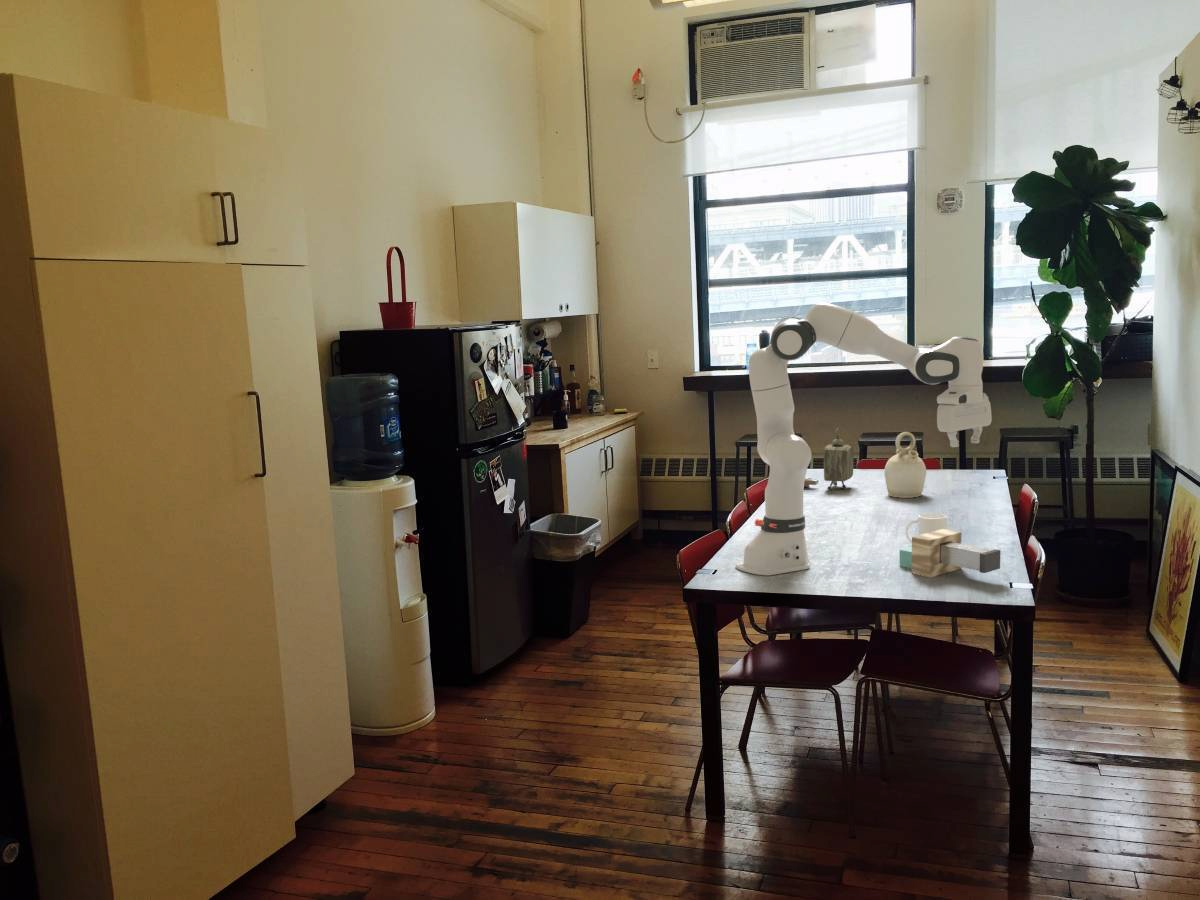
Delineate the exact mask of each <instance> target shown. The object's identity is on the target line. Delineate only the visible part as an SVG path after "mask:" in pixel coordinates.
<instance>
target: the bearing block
mask: <svg viewBox="0 0 1200 900" xmlns="http://www.w3.org/2000/svg"><path fill="white" fill-rule="evenodd" d="M911 540H912V543H911V546H912V569H911V574H912V573H913V575H916V574H917V575H916V576H920V575H921V576H920V577H924V576H925V577H924V578H928V579H930V578H931V579H932V578H935V577H938V576H940V575H944V574H947V572H948V573H950V572H954V571H957V570H961V569H962V567H959V566H954V565H950V564H945V563H940V544H941V543H945V542H949V541H950V542H955V543H960V544H962V531H958V530H957V531H956V530H951V529H948V528H947V529H941V530H937V531H933V532H929V533H925V534H921V535H918V534H917V535H914V536H911ZM937 575H938V576H937Z"/></svg>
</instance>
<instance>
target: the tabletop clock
mask: <svg viewBox="0 0 1200 900" xmlns="http://www.w3.org/2000/svg"><path fill="white" fill-rule="evenodd" d="M840 437H841V428H840V427H837V428H836V429H835V439H833V440H832V441H831V444H827V445H826V446H825V447H824V450H823V479H824V481H825V482H830V485H829V486H827V487H826V488H827V490H828V491H831V490H832V486H834V485H836V486H837V485H838V482H841V484H842V485H841V488H842V489H843V488H845V489H846V488H847V486H846V485H845V483H844V482H846V481H848V480H850V479H851V478H852V477H853V475H854V447H852V446H850V445H849V444H845V441H844V440H843V439H841V438H840Z"/></svg>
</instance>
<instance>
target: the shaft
mask: <svg viewBox="0 0 1200 900" xmlns="http://www.w3.org/2000/svg"><path fill="white" fill-rule="evenodd" d="M940 563H945V564H950V565H954V566H959V567H961V568H965V569H969V570H973V571H978V572H979V573H980V574H981V573H982V574H986V573H990V572H993V571H996V570H999V569H1001V549H994V548H993V549H991V548H985V547H980V546H974V545H971V544H970V545H969V544H966V543H961V544H960V543H955V542H950V541H949V542H945V543H941V544H940Z"/></svg>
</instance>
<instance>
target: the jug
mask: <svg viewBox="0 0 1200 900" xmlns="http://www.w3.org/2000/svg"><path fill="white" fill-rule="evenodd" d="M904 437H909V438H910V444H909V446H907V447H902V446H901V441H902V439H903V438H904ZM894 444H895V447H896V451H895V454H894V455H893V456H891V457H890V458H889V459H888V460H887V462H886V464H885V466H884V472H883V473H884V479H885V484H886V489H887V493H888V496H889V497H891V496H892V497H891V498H896V497H899V498H898V499H911V498H912V499H913V497H916V498H919V496H920V497H921V496H922V493H923V490H924V487H925V483H926V478H927V477H926V475H927V467H926V464H925V463H924V461H923V459H922V458H921V457H919V453H918V451H916V450H913V449H914V447H915V445H916V438H915V435H914V434H913V433H911V432H909V431H904V432H901V433H899V434H898V435H897V436H896V438H895V443H894Z"/></svg>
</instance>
